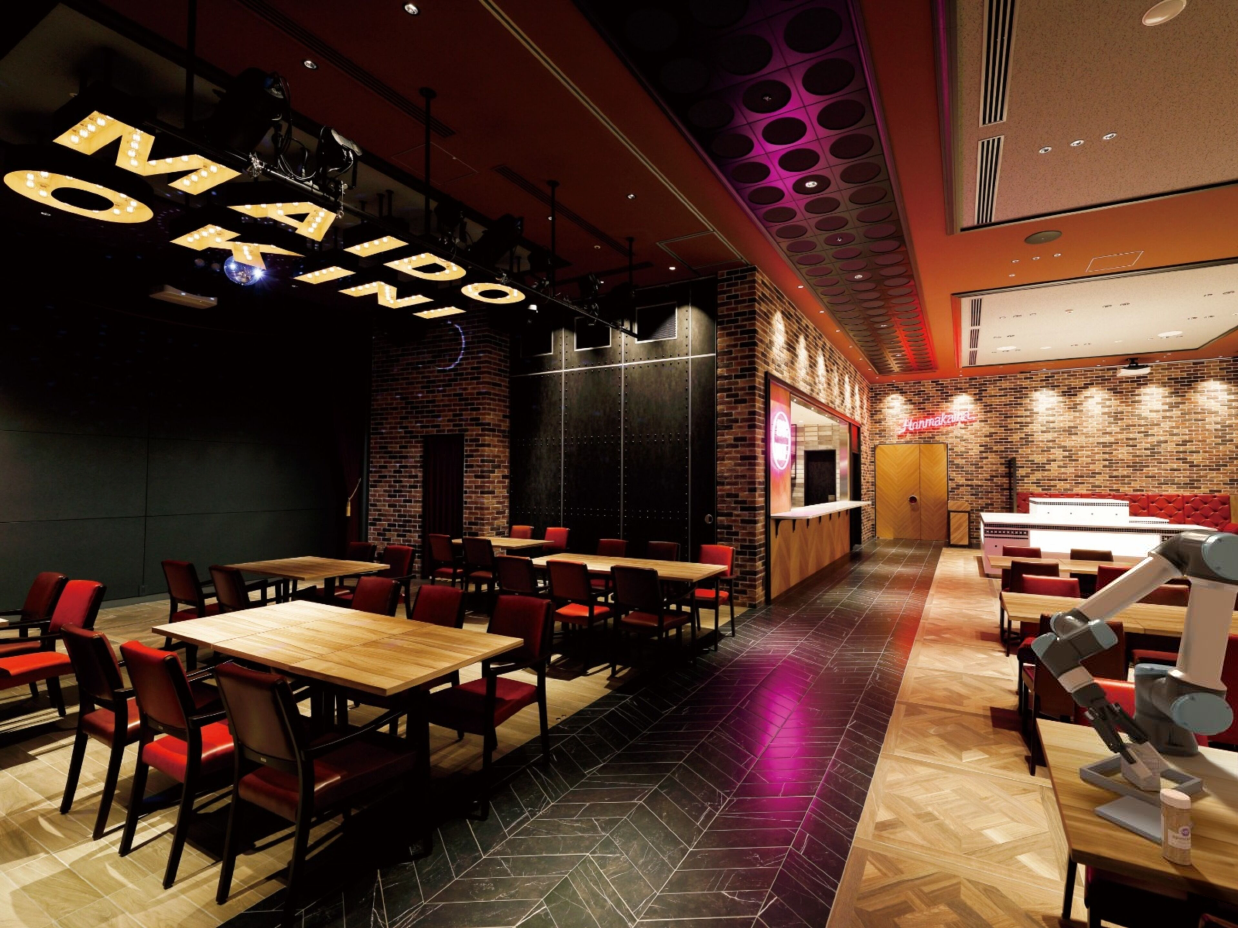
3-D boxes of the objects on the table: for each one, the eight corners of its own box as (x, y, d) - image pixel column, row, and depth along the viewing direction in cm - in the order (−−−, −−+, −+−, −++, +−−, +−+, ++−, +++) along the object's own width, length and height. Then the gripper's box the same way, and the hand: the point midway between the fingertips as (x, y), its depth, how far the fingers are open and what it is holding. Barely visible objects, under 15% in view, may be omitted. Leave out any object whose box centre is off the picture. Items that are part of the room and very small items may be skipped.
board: (1128, 799, 140) (1128, 794, 140) (1192, 827, 129) (1192, 822, 129) (1095, 813, 135) (1094, 808, 135) (1159, 843, 124) (1159, 837, 124)
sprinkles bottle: (1181, 867, 116) (1180, 801, 116) (1155, 853, 120) (1154, 789, 121) (1197, 864, 117) (1196, 797, 117) (1171, 849, 122) (1170, 786, 122)
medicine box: (1161, 792, 143) (1160, 757, 144) (1140, 790, 144) (1140, 755, 144) (1139, 776, 151) (1139, 743, 151) (1120, 774, 152) (1119, 741, 152)
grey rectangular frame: (1126, 760, 160) (1126, 751, 160) (1202, 789, 145) (1202, 779, 145) (1079, 777, 151) (1079, 767, 151) (1156, 809, 136) (1155, 799, 136)
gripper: (1093, 688, 166) (1165, 770, 151) (1049, 699, 158) (1121, 787, 143) (1115, 675, 162) (1191, 759, 146) (1071, 686, 153) (1147, 776, 138)
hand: (1156, 773), depth 145 cm, fingers closed on medicine box, 8 cm apart
